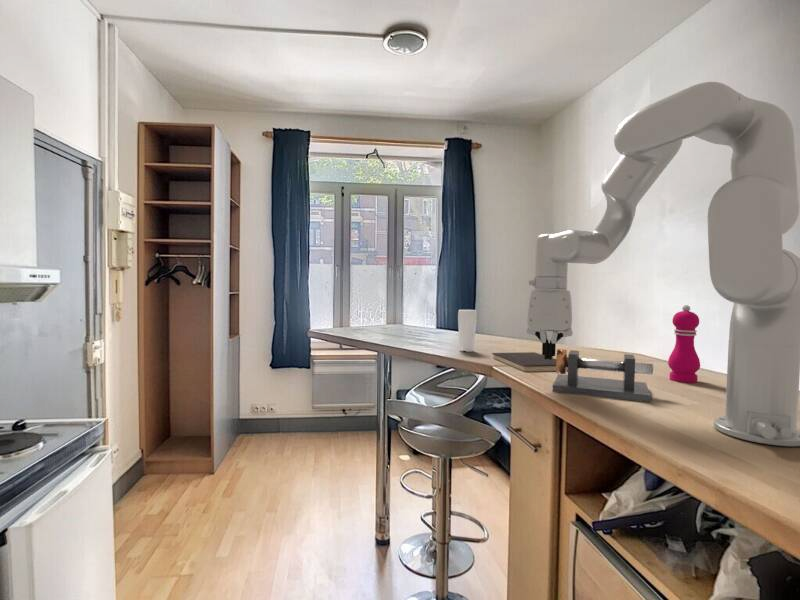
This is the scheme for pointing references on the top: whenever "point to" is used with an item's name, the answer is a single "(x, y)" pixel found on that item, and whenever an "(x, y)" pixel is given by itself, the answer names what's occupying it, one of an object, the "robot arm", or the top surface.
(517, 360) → the hardcover book
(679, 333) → the pepper mill
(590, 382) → the stand
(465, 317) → the drinking glass
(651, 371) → the shaft
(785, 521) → the top surface
